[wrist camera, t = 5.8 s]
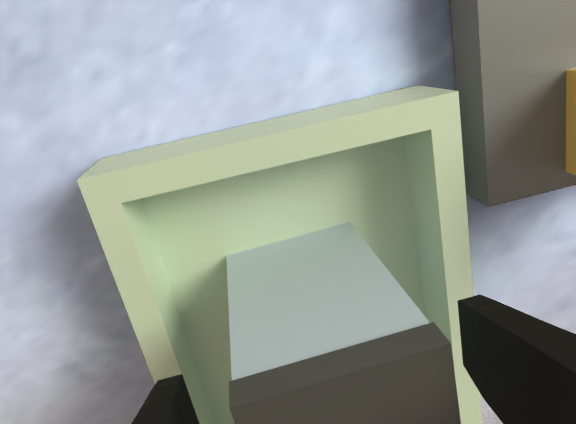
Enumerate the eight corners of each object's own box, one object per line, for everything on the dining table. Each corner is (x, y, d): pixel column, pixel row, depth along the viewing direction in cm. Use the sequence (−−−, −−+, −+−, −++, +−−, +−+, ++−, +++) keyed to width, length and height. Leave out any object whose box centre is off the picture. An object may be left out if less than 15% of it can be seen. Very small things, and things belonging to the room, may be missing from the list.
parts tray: (448, 386, 18) (483, 436, 16) (206, 454, 17) (205, 516, 15) (417, 85, 14) (458, 91, 12) (101, 157, 13) (76, 179, 11)
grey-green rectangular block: (371, 327, 16) (470, 500, 10) (257, 360, 16) (283, 560, 9) (350, 220, 14) (450, 342, 8) (224, 254, 14) (228, 408, 8)
